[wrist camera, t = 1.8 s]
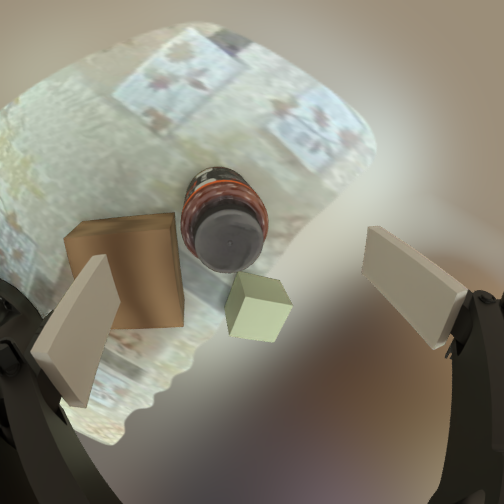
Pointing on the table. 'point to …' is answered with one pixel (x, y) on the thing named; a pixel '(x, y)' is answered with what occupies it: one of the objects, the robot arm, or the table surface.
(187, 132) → the table surface
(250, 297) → the sage block
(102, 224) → the walnut block
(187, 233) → the supplement bottle
